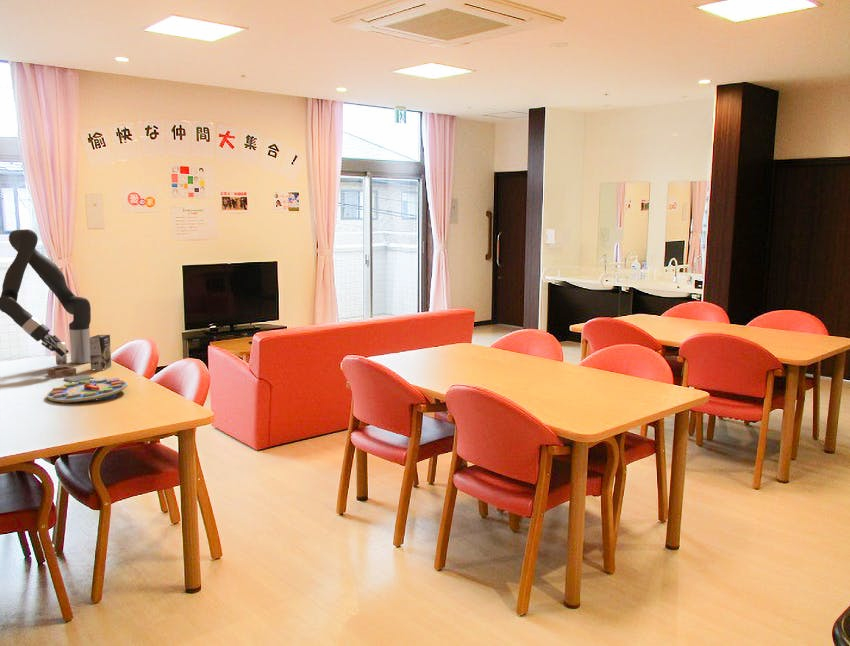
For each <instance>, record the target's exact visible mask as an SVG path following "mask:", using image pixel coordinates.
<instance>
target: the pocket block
mask: <svg viewBox="0 0 850 646" xmlns="http://www.w3.org/2000/svg"><path fill="white" fill-rule="evenodd" d="M46 371H47V376H49V375H50V377H53V376H54V377H53V378H56V377H59V378H64V377H63V376H65V377H69V376H68V375H71V376H74V375H73V374H76V375H77V368H76V367H73V366H70V365H64V366H62V365H61V366H57V367H50V368H49V367H48V368H47V370H46Z"/></svg>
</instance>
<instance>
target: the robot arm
mask: <svg viewBox="0 0 850 646" xmlns="http://www.w3.org/2000/svg"><path fill="white" fill-rule="evenodd" d="M38 239H39V238H38V235H37V233H36V232H35V231H34V230H32V229H25V228H24V229H15V230H13V231H11V232H10V233H9V235H8V241H9V244H10V246H12V248H13V249H14V250H15V251H16V252H17V254H16V256H15V258H14V259H13V261H12V263H11V264H10V265H9V267H8V269H7V270H6V272H5V275H4V279H3V283H2V286H1V287H2V288H1V289H2V290H1V294H0V311H1V312H2V313H4V314H6V315H7V316H9V317H10V318H11V319H12V320H13V322H15V324H16V325H18V326H19V327H20V328H21V329H22V330H23V331H24V332H26V333H27V335H28V336H30V337H32V339H33V340H35V341H36V342H40V341H41V343H40V344H41V345H42V346H43V347H45V348H46V349H48V350H49V351H51V352H56V353H58V354H59V355H60V356H63V355H64V354H65V352H64V351H62V350H61V349H60V348H59V347H58V346H57V345H56V342H62V341H61V339H59V338H58V336H56V335H55V334H54V335H53V334H50V333H49V332H50V330H51V329H50V328H48V327H47V326H46V325H45V324H44V323H42V321H40V320H39V319H38V318H36V317H35V316H33V315H32V314H31V313H30V312H29V311H27V310H26V309H24V308H23V307H22V306H21V305H20V303H18V297H19V296H18V295H19V292H20V289H21V285H22V283H23V282H22V281H23V278H24V275H25V271H26V269H27V267H28V264H29V266H30V267H31V268H32V269H33V270H34V272H35V273H36V274H37V275H38V277H39V278H40V279H41V280H42V281H43V283H44V284H45V285H46V286H47V287H48V288H49V289H50V291H51V292H52V293H53V295H55V296H56V298H57V299H58V301H59V302H60V304H61V305H62V307H63V309H64V310H65V311H66V312H67V313H68V314H70V315H73V316H72V317H73V320H72V321H71V322H70V323H69V324H68V329H69V333H68V334H69V346H70V347H69V348H70V362H71V364H75V363H80V364H88V363H91V360H90V339H89V338H90V337H91V335H90V324H91V320H92V319H91V318H92V314H91V312H92V311H91V303H90V300H89V299H87V298H86V297H83V296H81V297H80V296H77V295H75V294H74V293H73V292H72V291H71V289H70V288H69V287H68V285H67V281H66V278H65V274H64V273H63V272H62V270H61V269H60V268H59V267H58V266H57V264H56V263H55V262H54V261H52V260H51V259H50V258H48V257H46V256H45V255H44V254H42V253H41V252H40V251H38V249H37V248H36V246H37V245H38ZM68 353H69V350H68V349H67V348H66V355H67V354H68ZM87 362H88V363H87Z"/></svg>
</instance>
